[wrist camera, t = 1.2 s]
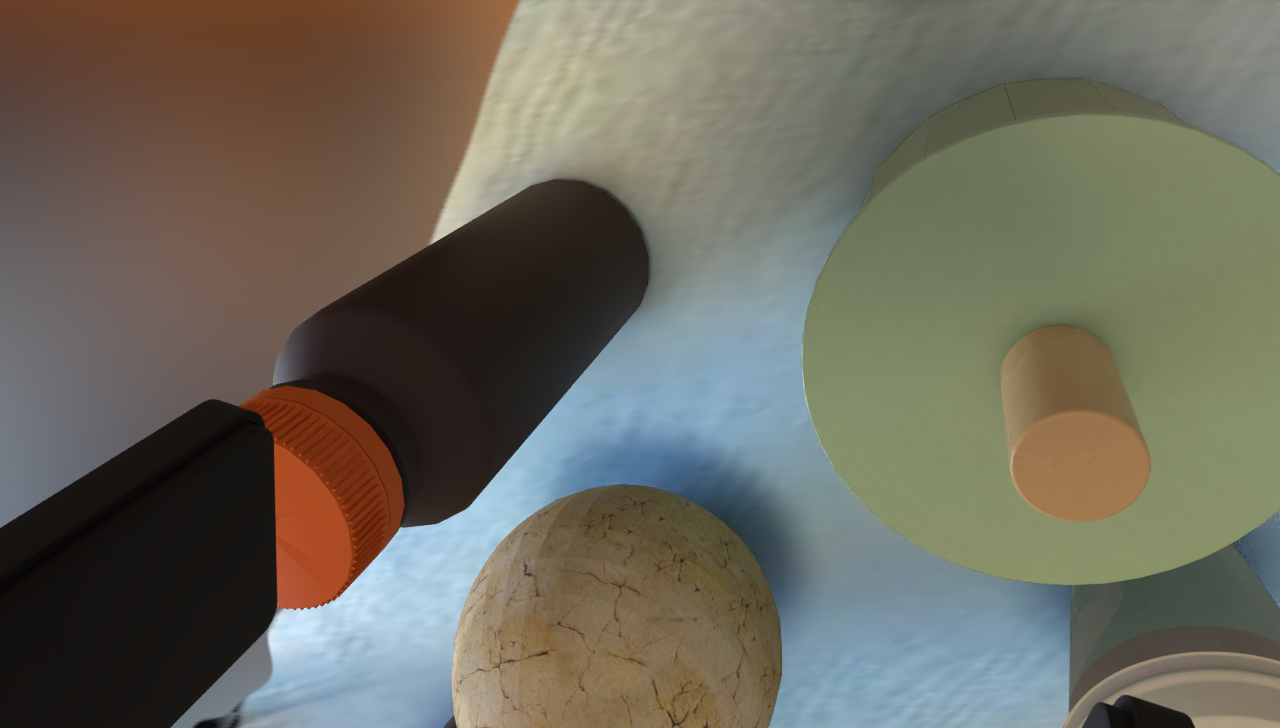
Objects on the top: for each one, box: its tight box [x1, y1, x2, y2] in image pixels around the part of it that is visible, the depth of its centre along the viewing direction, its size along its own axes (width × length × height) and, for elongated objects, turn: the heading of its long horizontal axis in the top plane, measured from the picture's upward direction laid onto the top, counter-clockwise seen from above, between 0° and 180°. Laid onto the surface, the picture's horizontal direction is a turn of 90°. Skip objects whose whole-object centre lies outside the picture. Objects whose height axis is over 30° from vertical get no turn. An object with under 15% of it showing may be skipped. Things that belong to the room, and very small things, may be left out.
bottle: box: [238, 180, 648, 610], centre depth 30 cm, size 7×7×20 cm
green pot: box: [859, 79, 1185, 212], centre depth 29 cm, size 12×12×10 cm
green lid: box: [801, 111, 1280, 585], centre depth 23 cm, size 13×13×6 cm
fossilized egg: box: [452, 484, 782, 728], centre depth 37 cm, size 13×13×15 cm
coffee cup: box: [1063, 543, 1280, 728], centre depth 31 cm, size 8×8×12 cm
